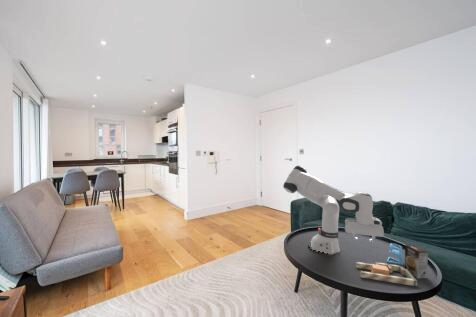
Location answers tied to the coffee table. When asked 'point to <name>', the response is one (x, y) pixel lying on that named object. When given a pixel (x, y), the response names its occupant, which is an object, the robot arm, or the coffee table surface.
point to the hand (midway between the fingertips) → (363, 241)
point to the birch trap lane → (407, 281)
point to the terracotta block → (379, 269)
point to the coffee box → (416, 261)
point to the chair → (396, 253)
